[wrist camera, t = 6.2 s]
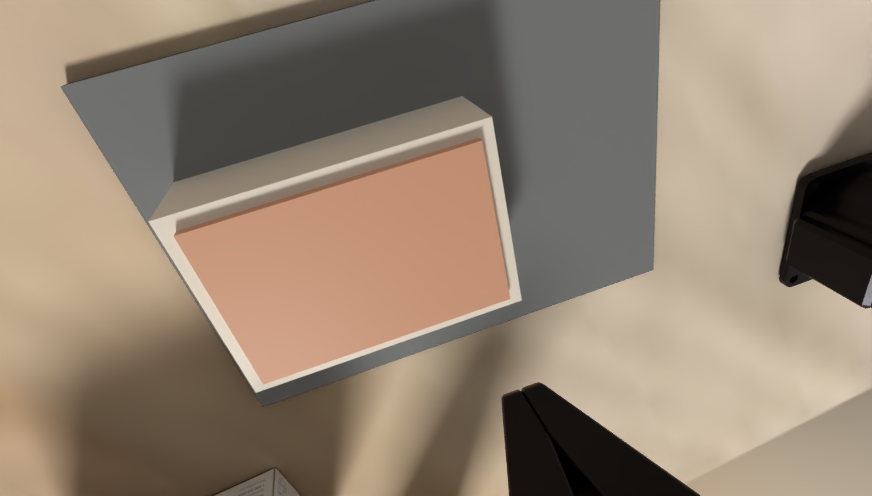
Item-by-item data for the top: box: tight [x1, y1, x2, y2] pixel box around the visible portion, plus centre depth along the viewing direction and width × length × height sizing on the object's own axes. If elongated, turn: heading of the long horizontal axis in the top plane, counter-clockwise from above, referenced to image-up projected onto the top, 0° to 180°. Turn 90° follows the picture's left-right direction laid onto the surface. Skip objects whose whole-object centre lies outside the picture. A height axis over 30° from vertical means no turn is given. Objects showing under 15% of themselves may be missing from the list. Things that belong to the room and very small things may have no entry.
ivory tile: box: [148, 96, 522, 393], centre depth 16 cm, size 3×7×10 cm
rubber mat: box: [61, 0, 660, 407], centre depth 18 cm, size 19×14×1 cm
